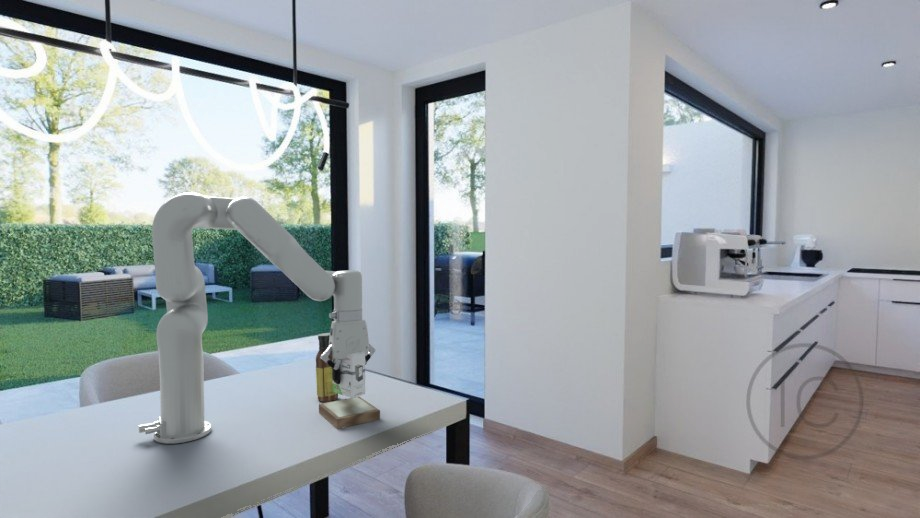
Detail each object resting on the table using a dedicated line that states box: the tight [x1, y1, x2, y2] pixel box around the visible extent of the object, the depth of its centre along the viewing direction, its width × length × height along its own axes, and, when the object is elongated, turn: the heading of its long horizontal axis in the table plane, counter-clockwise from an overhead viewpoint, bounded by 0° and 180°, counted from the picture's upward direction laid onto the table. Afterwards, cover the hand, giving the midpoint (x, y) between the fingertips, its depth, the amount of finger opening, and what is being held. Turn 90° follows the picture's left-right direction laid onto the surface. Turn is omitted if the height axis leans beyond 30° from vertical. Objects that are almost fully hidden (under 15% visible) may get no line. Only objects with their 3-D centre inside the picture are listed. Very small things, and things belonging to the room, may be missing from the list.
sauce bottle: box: [315, 332, 339, 403], centre depth 152 cm, size 7×6×20 cm
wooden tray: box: [318, 396, 381, 430], centre depth 139 cm, size 12×14×3 cm
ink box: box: [333, 351, 366, 398], centre depth 138 cm, size 9×5×12 cm, turn 52°
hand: (348, 380), depth 138 cm, fingers closed on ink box, 6 cm apart
